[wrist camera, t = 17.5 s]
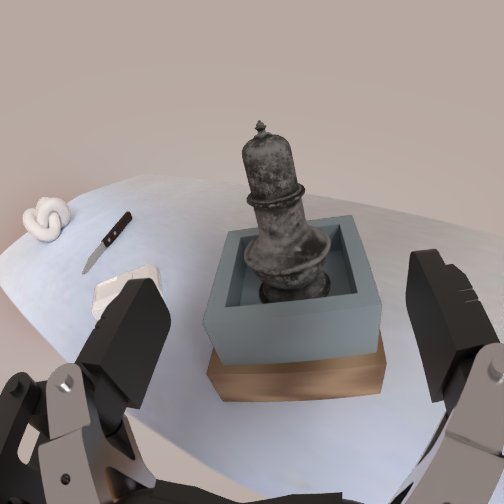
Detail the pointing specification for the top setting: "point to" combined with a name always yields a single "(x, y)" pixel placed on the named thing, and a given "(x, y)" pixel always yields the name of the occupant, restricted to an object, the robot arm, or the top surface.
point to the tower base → (300, 378)
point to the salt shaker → (282, 225)
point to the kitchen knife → (108, 240)
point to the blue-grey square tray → (295, 306)
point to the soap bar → (114, 286)
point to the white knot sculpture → (47, 218)
